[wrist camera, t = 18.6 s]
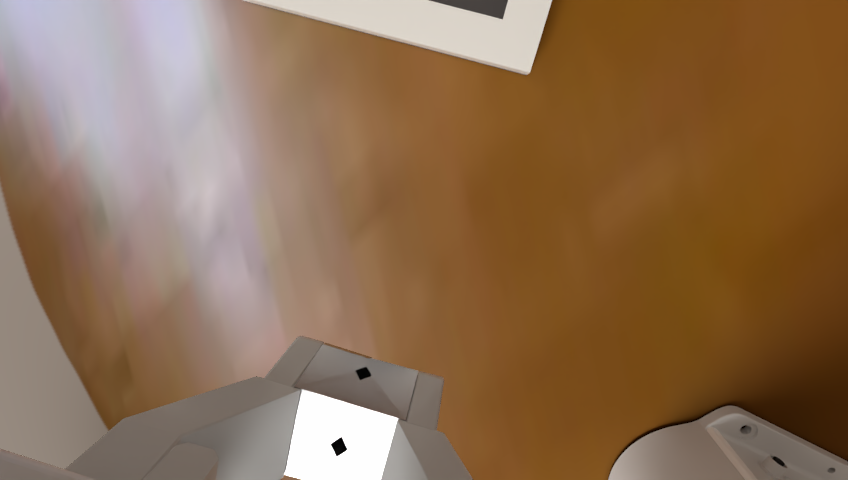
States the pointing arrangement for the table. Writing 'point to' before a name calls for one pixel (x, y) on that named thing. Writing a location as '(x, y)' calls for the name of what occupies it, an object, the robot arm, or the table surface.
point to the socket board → (440, 25)
